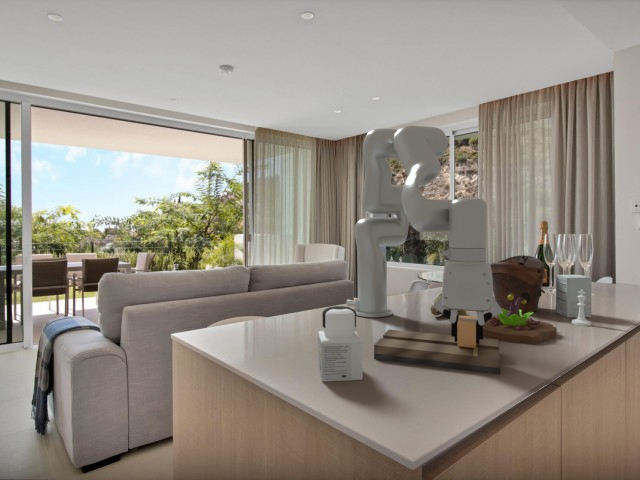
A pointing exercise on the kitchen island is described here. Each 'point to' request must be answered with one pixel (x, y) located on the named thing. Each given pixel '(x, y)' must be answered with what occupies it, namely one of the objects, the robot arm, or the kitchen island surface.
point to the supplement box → (572, 294)
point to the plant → (517, 325)
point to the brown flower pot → (518, 281)
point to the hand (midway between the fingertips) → (467, 340)
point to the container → (339, 346)
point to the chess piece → (581, 312)
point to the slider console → (438, 351)
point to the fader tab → (466, 331)
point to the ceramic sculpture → (436, 312)
